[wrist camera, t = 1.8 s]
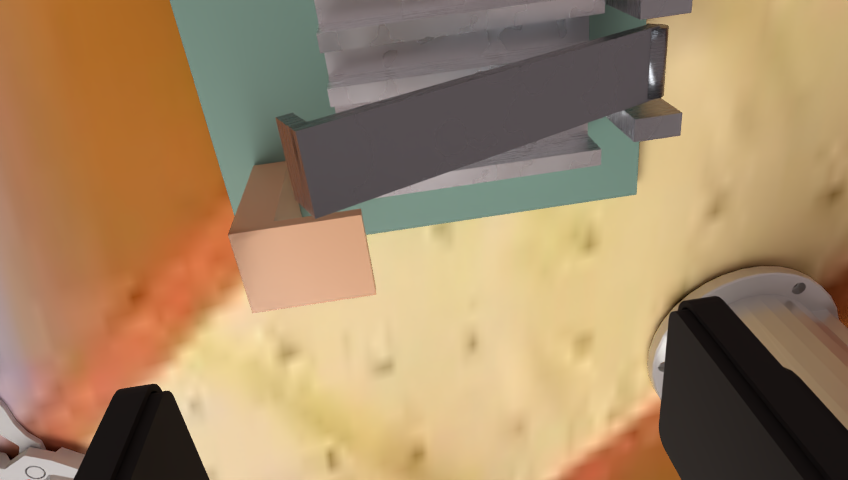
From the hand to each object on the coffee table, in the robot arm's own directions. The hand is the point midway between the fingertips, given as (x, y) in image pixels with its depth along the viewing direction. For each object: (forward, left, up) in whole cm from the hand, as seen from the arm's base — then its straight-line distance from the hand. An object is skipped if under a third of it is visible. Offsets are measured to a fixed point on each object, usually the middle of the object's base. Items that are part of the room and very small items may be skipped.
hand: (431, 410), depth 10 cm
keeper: (+4, +6, -23) cm, 24 cm away
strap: (-4, 0, -16) cm, 16 cm away
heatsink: (-5, 0, -23) cm, 24 cm away
